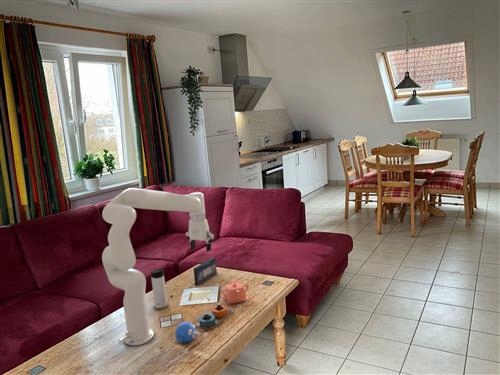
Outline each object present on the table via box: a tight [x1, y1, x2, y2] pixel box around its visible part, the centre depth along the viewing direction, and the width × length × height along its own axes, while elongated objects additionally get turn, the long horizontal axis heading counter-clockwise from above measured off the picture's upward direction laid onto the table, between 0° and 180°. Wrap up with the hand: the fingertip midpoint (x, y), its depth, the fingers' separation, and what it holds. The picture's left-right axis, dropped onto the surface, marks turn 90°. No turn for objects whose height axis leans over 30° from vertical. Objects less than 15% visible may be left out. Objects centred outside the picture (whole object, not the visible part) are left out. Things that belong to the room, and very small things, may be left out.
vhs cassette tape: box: [193, 257, 218, 286], centre depth 246 cm, size 18×3×10 cm, turn 147°
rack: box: [195, 302, 232, 329], centre depth 197 cm, size 18×8×6 cm, turn 149°
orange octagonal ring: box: [211, 304, 229, 317], centre depth 202 cm, size 7×7×2 cm
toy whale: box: [174, 321, 203, 344], centre depth 179 cm, size 12×12×8 cm
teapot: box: [222, 282, 250, 304], centre depth 215 cm, size 12×12×10 cm
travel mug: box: [150, 268, 168, 310], centre depth 213 cm, size 6×7×20 cm
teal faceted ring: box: [198, 313, 217, 328], centre depth 193 cm, size 7×7×2 cm
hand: (201, 249), depth 214 cm, fingers open, 9 cm apart
